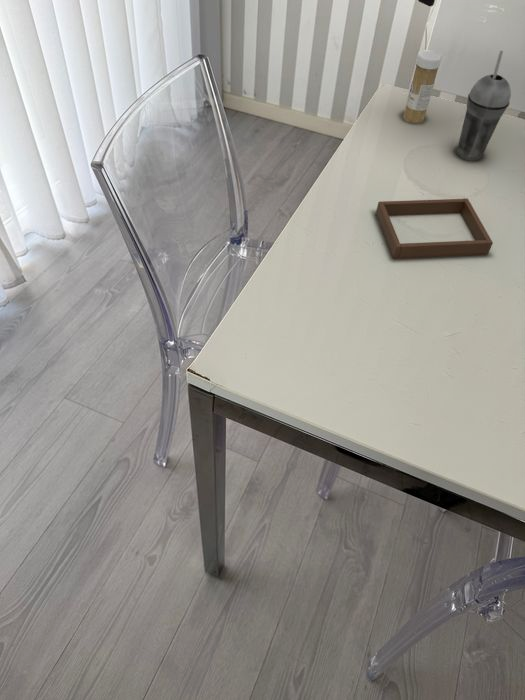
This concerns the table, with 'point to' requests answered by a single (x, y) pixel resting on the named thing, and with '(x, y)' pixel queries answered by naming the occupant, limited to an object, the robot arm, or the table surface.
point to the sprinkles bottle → (422, 85)
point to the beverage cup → (483, 113)
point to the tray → (433, 248)
